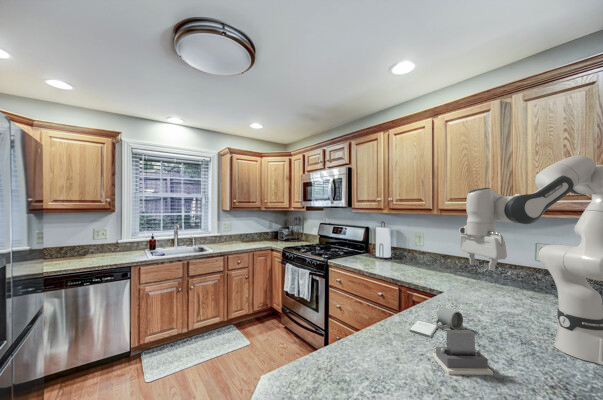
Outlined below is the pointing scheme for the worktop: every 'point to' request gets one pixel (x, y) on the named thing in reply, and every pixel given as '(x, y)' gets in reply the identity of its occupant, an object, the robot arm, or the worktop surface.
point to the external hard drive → (423, 329)
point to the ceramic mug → (449, 319)
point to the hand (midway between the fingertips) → (481, 267)
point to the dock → (464, 371)
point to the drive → (460, 343)
